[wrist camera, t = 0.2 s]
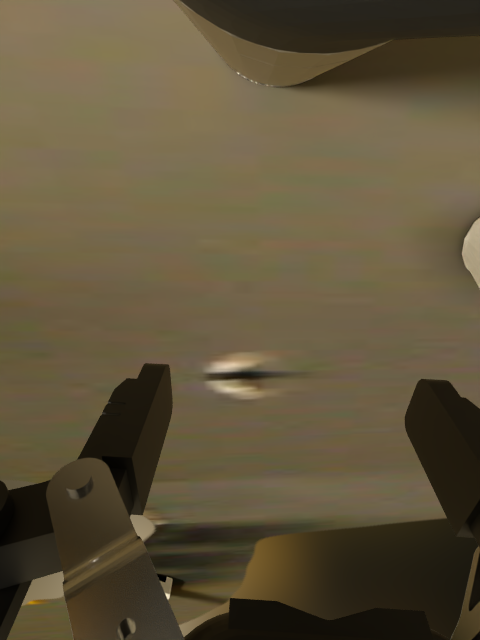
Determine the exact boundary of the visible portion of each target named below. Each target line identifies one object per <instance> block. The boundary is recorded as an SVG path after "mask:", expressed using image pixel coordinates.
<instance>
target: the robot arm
mask: <svg viewBox="0 0 480 640" xmlns="http://www.w3.org/2000/svg"><path fill="white" fill-rule="evenodd" d="M173 1H174V2H175V3H176V4H177V5H178V6H179V8H180V9H181V10H182V11H183V12H184V13H185V15H186V16H187V17H188V18H189V19H190V21H191V22H192V23H193V24H194V25H195V27H196V28H197V29H198V30H199V31H200V33H201V34H202V35H203V36H204V37H205V38H206V40H207V41H208V42H209V43H210V44H211V46H212V47H213V48H214V49H215V50H216V52H217V53H218V54H219V55H220V56H221V57H222V58H223V59H224V61H225V62H226V63H227V64H228V65H229V67H231V68H232V69H233V70H234V71H236V72H237V74H239V75H240V76H242V77H243V78H245V79H247V80H250V81H251V82H254V83H256V84H260V85H264V86H270V87H285V86H293V85H297V84H300V83H303V82H305V81H308V80H310V79H313V78H314V77H315V76H318V75H320V74H322V73H324V72H326V71H328V70H330V69H332V68H335V67H337V66H339V65H341V64H343V63H345V62H347V61H350V60H352V59H354V58H356V57H358V56H360V55H362V54H365V53H367V52H369V51H371V50H373V49H375V48H377V47H379V46H382V45H384V44H386V43H387V42H390V41H392V40H398V39H414V38H437V37H459V36H480V0H173ZM171 414H172V389H171V377H170V368H169V365H167V364H148V363H145V364H144V365H143V367H142V370H141V372H140V374H139V376H138V378H137V379H130V378H127V379H126V380H125V381H123V382H122V383H121V384H120V385H119V386H118V387H116V388H115V389H114V391H113V393H112V395H111V397H110V399H109V401H108V404H107V405H106V406H105V408H104V410H103V412H102V415H101V416H100V418H99V420H98V422H97V423H96V425H95V427H94V429H93V431H92V433H91V435H90V437H89V439H88V441H87V442H86V444H85V446H84V448H83V450H82V452H81V454H80V456H79V457H78V459H77V460H75V461H73V462H71V463H69V464H67V465H65V466H64V467H62V468H61V469H60V470H59V471H58V472H57V473H56V474H55V475H54V476H53V477H52V479H51V480H49V481H46V482H43V483H39V484H34V485H30V486H26V487H21V488H17V489H12V490H8V489H7V487H6V485H5V484H4V483H3V482H2V481H0V640H6V639H7V637H8V635H9V633H10V630H11V628H12V626H13V623H14V621H15V619H16V616H17V614H18V612H19V610H20V607H21V605H22V603H23V600H24V598H25V596H26V593H27V591H28V588H29V586H30V584H31V582H32V580H33V579H36V578H40V577H44V576H47V575H50V574H54V573H57V572H60V571H63V574H64V582H63V590H64V596H65V601H66V606H67V610H68V615H69V620H70V624H71V629H72V634H73V638H74V640H450V639H449V638H447V637H445V636H443V635H441V634H440V633H438V632H436V631H434V630H431V629H430V627H429V624H428V621H427V618H426V615H425V612H424V611H412V610H397V609H382V608H374V609H371V610H367V611H364V612H360V613H356V614H353V615H349V616H346V617H342V618H339V619H335V620H325V619H322V618H319V617H317V616H314V615H311V614H309V613H306V612H304V611H301V610H298V609H296V608H293V607H290V606H288V605H286V604H283V603H280V602H277V601H264V600H250V599H235V598H230V607H229V613H225V614H222V615H219V616H216V617H214V618H211V619H209V620H207V621H205V622H204V623H202V624H201V625H199V626H197V627H196V628H195V629H194V630H192V631H191V632H190V633H189V634H188V635H186V636H185V637H183V635H182V633H181V630H180V628H179V625H178V623H177V620H176V618H175V616H174V613H173V611H172V609H171V606H170V604H169V602H168V599H167V597H166V595H165V592H164V590H163V587H162V585H161V583H160V580H159V578H158V576H157V573H156V571H155V569H154V566H153V564H152V561H151V559H150V557H149V554H148V552H147V550H146V547H145V545H144V543H143V541H142V539H141V538H140V537H138V536H137V534H136V532H135V529H134V527H133V524H132V522H131V520H130V515H131V514H133V515H143V512H144V509H145V505H146V502H147V498H148V495H149V491H150V488H151V485H152V481H153V478H154V474H155V471H156V467H157V464H158V460H159V457H160V454H161V450H162V447H163V443H164V440H165V436H166V433H167V429H168V426H169V422H170V419H171ZM405 428H406V432H407V434H408V437H409V439H410V441H411V443H412V445H413V447H414V449H415V451H416V453H417V455H418V458H419V460H420V462H421V464H422V466H423V468H424V470H425V472H426V474H427V476H428V479H429V481H430V483H431V485H432V487H433V489H434V491H435V493H436V495H437V498H438V500H439V502H440V504H441V506H442V508H443V510H444V512H445V514H446V516H447V519H448V521H449V523H450V525H451V527H452V529H453V531H454V533H455V535H456V536H457V537H473V538H475V540H476V542H477V543H478V548H477V549H476V551H475V553H474V557H473V562H472V567H471V571H470V576H469V580H468V585H467V590H466V594H465V599H464V603H463V608H462V612H461V616H460V619H459V622H458V624H457V627H456V629H455V631H454V633H453V635H452V637H451V640H480V409H479V408H478V407H477V406H475V405H474V404H473V403H472V402H470V401H469V400H468V399H466V398H461V397H460V395H459V394H458V392H457V391H456V390H455V388H454V387H453V386H452V384H451V383H450V382H449V381H447V380H431V379H421V380H419V381H418V383H417V385H416V388H415V390H414V393H413V396H412V398H411V401H410V404H409V406H408V409H407V412H406V415H405Z"/></svg>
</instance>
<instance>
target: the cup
mask: <svg viewBox="0 0 480 640" xmlns="http://www.w3.org/2000/svg"><path fill="white" fill-rule="evenodd" d="M462 257H463V260H464V263H465V266H466V268H467V269H468V270H469V271H470V272H471V274H472V276H473V278H474V279H475V281H476V283H477V285H478V286H479V288H480V217H479V218H478V219H476V220H475V221H474V222H473V224H472V226H471V227H470V229H469V231H468V232H467V234H466V236H465V237H464V243H463V248H462Z"/></svg>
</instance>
